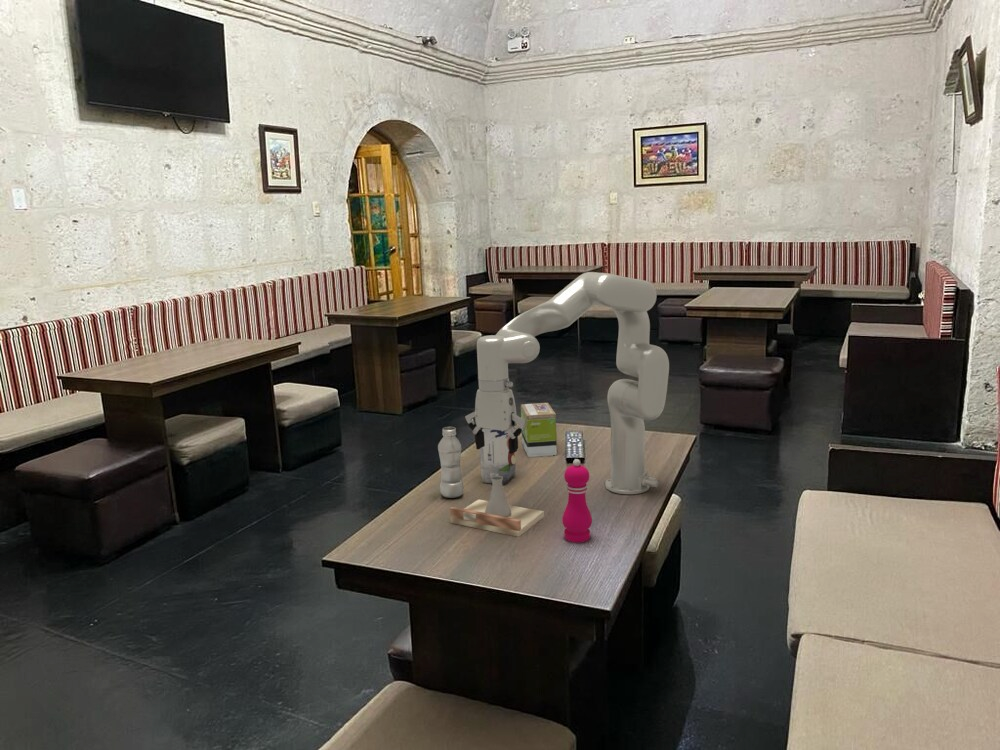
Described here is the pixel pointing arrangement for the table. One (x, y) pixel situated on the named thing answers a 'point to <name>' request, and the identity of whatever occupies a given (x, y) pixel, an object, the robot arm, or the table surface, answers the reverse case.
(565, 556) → the table surface
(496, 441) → the juice carton
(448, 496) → the plastic bottle
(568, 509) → the pepper mill
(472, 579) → the table surface
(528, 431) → the tea box
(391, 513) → the table surface
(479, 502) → the shelf board
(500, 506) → the flask
